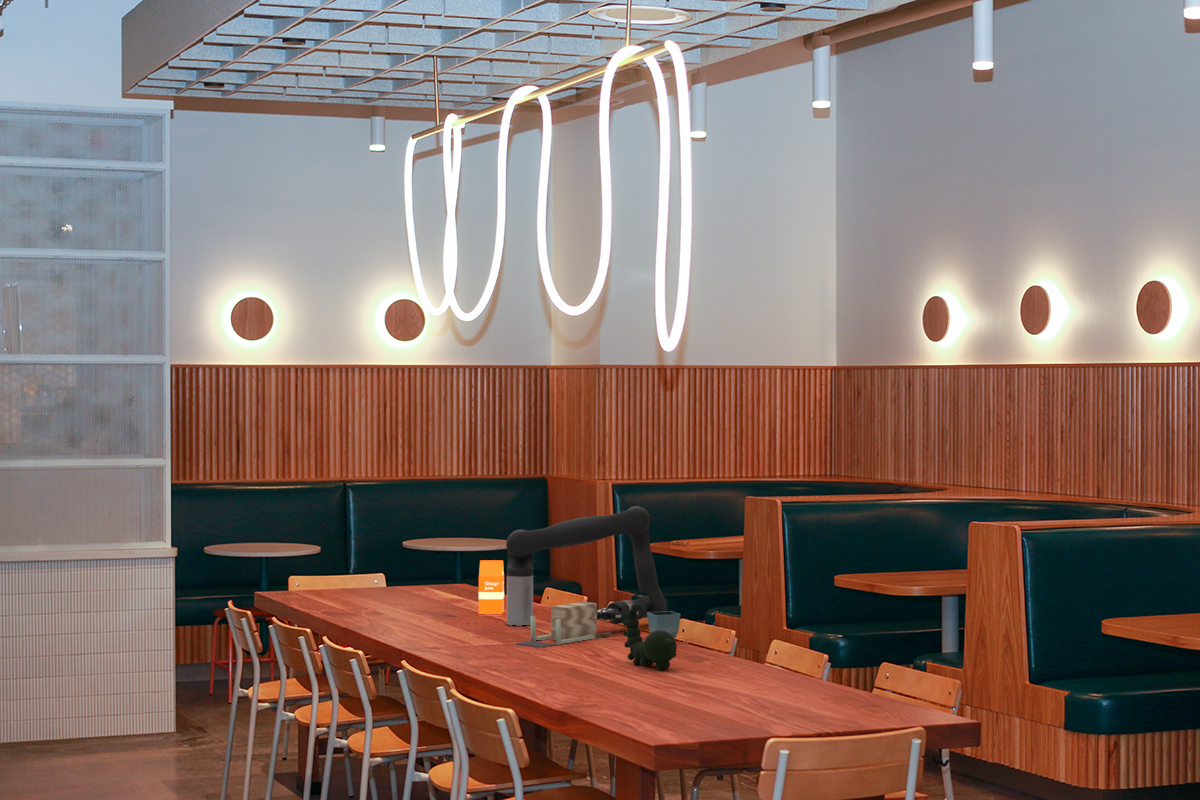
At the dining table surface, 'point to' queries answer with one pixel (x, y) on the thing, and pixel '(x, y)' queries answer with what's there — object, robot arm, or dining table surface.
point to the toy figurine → (648, 642)
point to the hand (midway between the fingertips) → (589, 617)
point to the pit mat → (535, 644)
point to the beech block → (574, 620)
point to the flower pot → (664, 622)
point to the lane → (603, 634)
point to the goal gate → (558, 633)
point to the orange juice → (491, 587)
